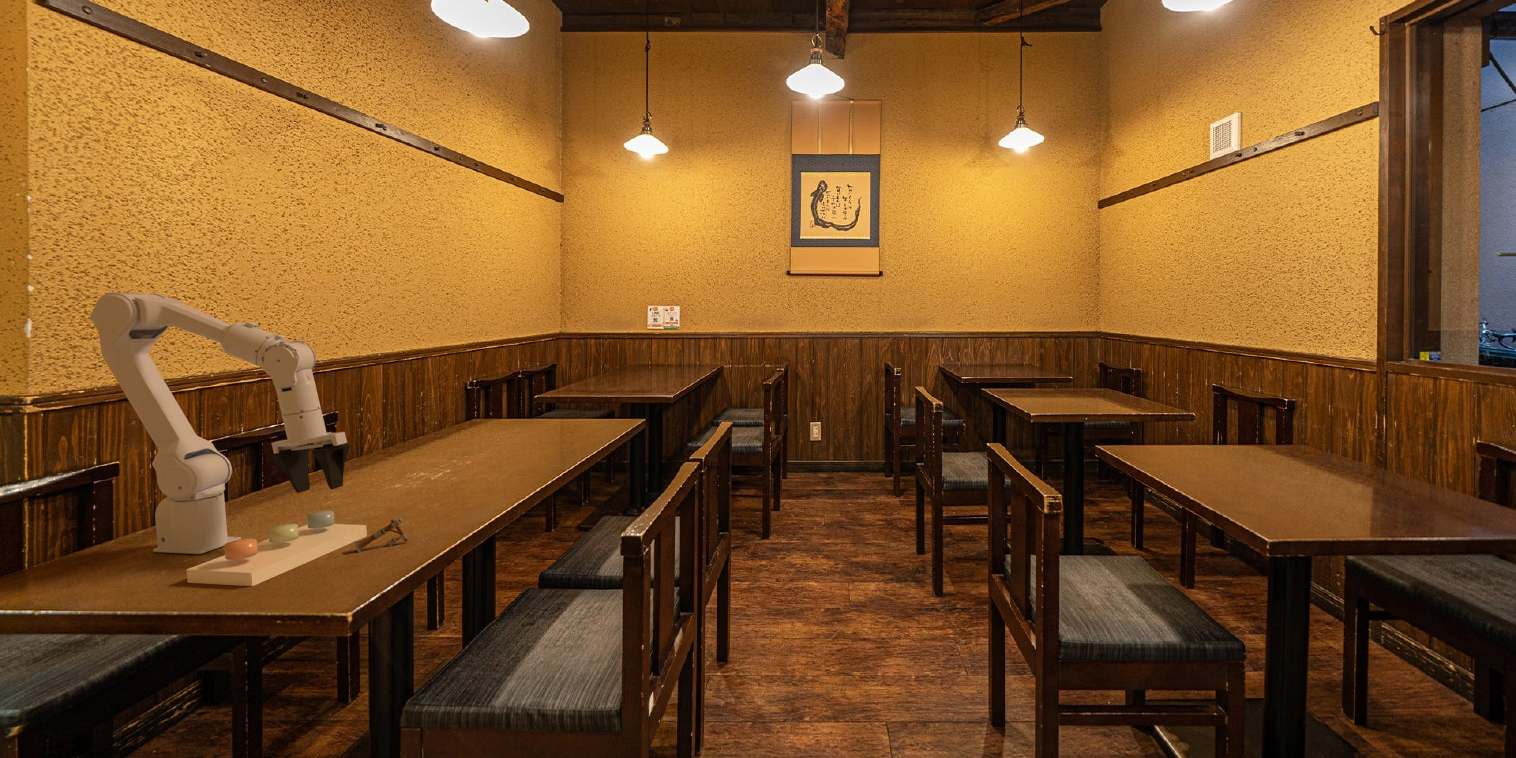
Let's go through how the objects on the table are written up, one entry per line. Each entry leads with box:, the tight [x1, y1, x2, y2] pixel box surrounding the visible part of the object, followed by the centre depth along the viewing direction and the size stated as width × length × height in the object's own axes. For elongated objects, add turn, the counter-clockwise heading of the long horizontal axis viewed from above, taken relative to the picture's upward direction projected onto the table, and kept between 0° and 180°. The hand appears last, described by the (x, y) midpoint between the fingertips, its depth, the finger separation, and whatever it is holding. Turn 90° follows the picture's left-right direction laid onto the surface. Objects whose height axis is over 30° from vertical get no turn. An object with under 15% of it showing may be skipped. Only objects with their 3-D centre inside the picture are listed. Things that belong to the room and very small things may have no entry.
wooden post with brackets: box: [352, 518, 409, 553], centre depth 123 cm, size 2×8×4 cm, turn 125°
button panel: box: [186, 523, 368, 587], centre depth 118 cm, size 11×24×2 cm, turn 170°
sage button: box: [268, 523, 299, 543], centre depth 118 cm, size 4×4×2 cm
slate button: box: [306, 510, 336, 528], centre depth 126 cm, size 4×4×2 cm
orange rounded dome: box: [223, 538, 258, 560], centre depth 110 cm, size 4×4×2 cm
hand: (319, 489), depth 125 cm, fingers open, 7 cm apart
